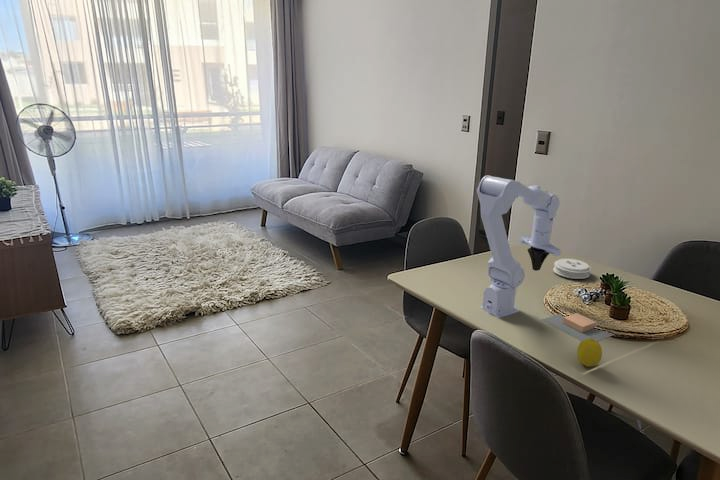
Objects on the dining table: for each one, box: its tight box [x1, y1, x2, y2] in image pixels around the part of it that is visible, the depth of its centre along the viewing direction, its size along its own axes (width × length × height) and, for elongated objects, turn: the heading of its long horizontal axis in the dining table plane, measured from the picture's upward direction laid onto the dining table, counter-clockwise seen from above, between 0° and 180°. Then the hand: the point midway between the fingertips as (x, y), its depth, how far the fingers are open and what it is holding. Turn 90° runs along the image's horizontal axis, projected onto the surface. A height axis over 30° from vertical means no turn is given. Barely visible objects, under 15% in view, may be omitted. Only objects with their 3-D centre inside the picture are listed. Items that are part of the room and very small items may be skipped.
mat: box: [541, 313, 616, 343], centre depth 135 cm, size 12×16×1 cm
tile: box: [563, 312, 597, 332], centre depth 135 cm, size 6×2×6 cm
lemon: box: [576, 338, 603, 367], centre depth 115 cm, size 6×6×8 cm
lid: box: [552, 258, 591, 280], centre depth 173 cm, size 13×13×5 cm
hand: (536, 269), depth 151 cm, fingers closed
